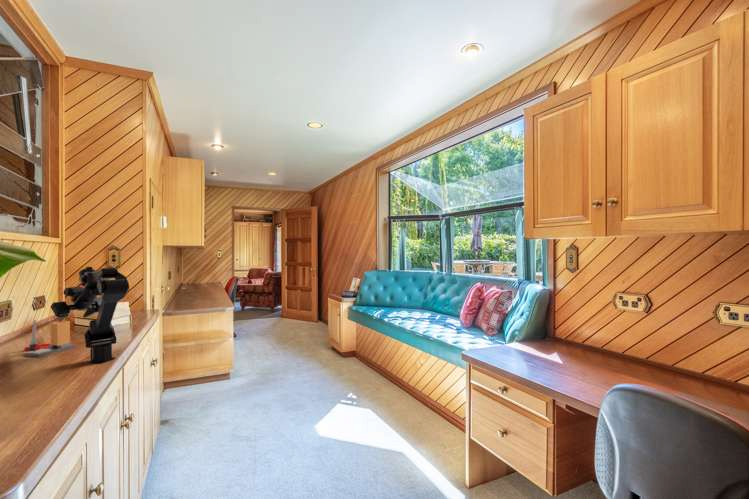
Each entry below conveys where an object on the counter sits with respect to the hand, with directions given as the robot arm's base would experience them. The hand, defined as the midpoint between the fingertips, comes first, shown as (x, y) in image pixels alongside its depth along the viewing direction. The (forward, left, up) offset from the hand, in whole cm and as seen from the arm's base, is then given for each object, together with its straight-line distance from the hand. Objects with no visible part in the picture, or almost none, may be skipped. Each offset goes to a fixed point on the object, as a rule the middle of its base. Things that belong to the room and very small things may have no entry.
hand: (71, 319), depth 150 cm
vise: (+8, +3, -14) cm, 16 cm away
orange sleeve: (+8, -1, -11) cm, 14 cm away
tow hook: (+19, -2, -14) cm, 24 cm away
